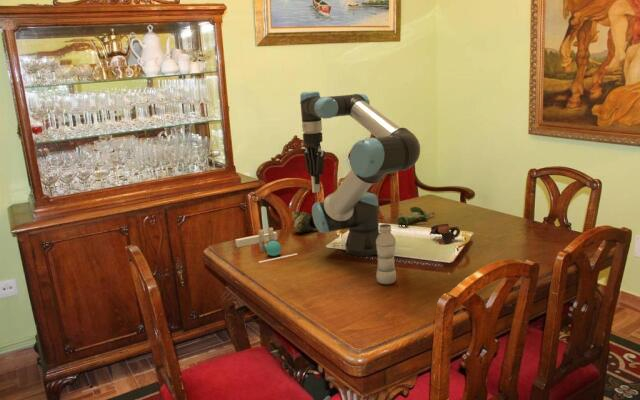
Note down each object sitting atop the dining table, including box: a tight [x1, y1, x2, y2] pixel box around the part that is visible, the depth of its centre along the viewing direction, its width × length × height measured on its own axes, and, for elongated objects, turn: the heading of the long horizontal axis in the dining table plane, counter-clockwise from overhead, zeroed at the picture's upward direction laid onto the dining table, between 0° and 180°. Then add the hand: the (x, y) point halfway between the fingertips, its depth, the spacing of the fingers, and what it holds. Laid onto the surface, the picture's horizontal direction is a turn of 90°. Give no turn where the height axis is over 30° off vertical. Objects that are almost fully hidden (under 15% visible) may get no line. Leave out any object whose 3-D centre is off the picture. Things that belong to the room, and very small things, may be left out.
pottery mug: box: [429, 223, 461, 245], centre depth 226 cm, size 12×10×8 cm
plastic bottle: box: [375, 223, 397, 285], centre depth 185 cm, size 6×7×20 cm
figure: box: [396, 206, 435, 227], centre depth 254 cm, size 16×7×25 cm
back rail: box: [234, 231, 278, 248], centre depth 236 cm, size 18×2×3 cm, turn 117°
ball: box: [265, 240, 282, 257], centre depth 219 cm, size 6×6×6 cm
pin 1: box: [258, 228, 266, 253], centre depth 224 cm, size 2×2×9 cm
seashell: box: [291, 211, 318, 234], centre depth 246 cm, size 11×11×10 cm
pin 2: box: [267, 227, 275, 243], centre depth 226 cm, size 2×2×9 cm
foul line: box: [258, 252, 298, 264], centre depth 216 cm, size 16×1×1 cm, turn 117°
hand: (316, 191), depth 221 cm, fingers closed
